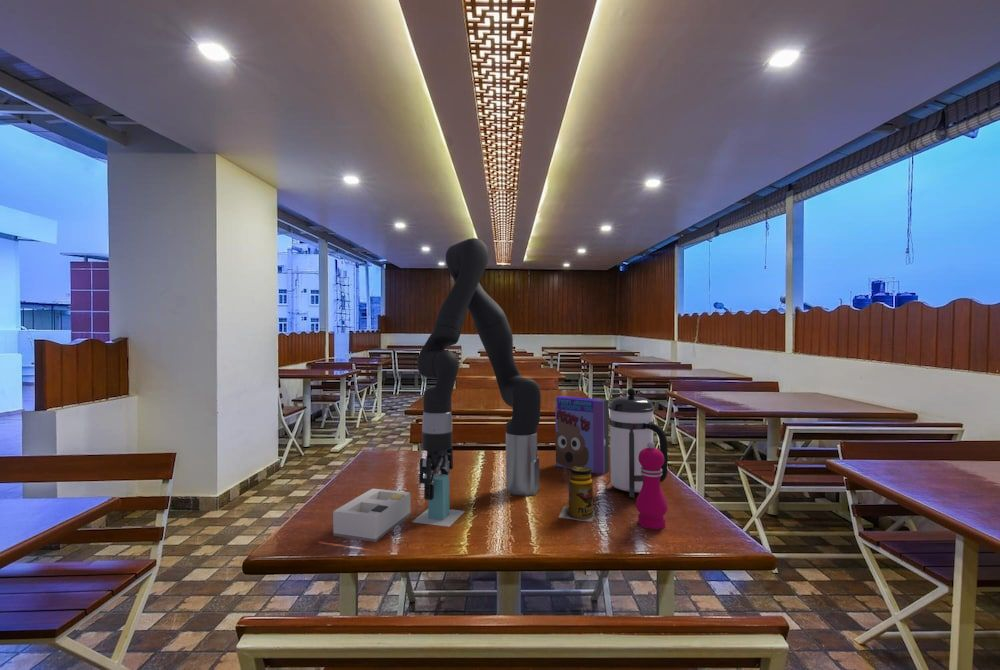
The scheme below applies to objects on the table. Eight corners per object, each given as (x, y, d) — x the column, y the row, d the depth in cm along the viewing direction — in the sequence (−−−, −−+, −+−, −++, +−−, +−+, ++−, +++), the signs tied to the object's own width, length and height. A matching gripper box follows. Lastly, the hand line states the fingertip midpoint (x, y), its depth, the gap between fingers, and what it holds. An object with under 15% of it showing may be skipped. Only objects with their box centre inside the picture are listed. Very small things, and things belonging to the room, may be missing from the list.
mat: (464, 512, 120) (464, 511, 120) (449, 528, 110) (449, 526, 110) (429, 508, 123) (429, 506, 123) (411, 523, 113) (411, 521, 113)
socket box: (410, 516, 118) (410, 491, 118) (375, 543, 103) (375, 515, 102) (372, 511, 121) (372, 487, 121) (333, 537, 106) (333, 509, 106)
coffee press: (601, 498, 129) (601, 391, 129) (608, 480, 144) (608, 384, 144) (667, 505, 124) (667, 393, 123) (667, 486, 139) (667, 386, 138)
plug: (449, 514, 118) (449, 474, 118) (443, 520, 114) (442, 479, 114) (435, 512, 119) (434, 473, 119) (428, 518, 115) (428, 478, 115)
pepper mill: (663, 533, 107) (663, 446, 107) (632, 526, 111) (631, 442, 111) (670, 522, 113) (670, 440, 113) (640, 516, 117) (640, 436, 117)
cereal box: (555, 466, 161) (555, 397, 160) (562, 463, 164) (561, 395, 164) (603, 474, 151) (603, 401, 150) (608, 471, 154) (608, 399, 154)
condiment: (592, 522, 113) (592, 473, 113) (558, 518, 116) (558, 470, 116) (595, 511, 120) (595, 465, 120) (563, 507, 123) (563, 462, 123)
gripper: (438, 436, 109) (437, 505, 109) (462, 425, 122) (461, 486, 122) (409, 433, 111) (409, 501, 111) (436, 423, 125) (435, 483, 125)
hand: (436, 493), depth 117 cm, fingers open, 8 cm apart
